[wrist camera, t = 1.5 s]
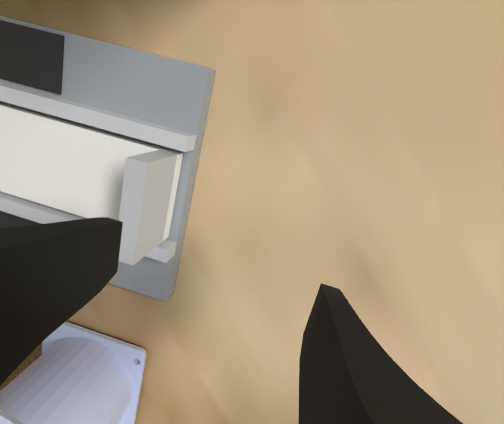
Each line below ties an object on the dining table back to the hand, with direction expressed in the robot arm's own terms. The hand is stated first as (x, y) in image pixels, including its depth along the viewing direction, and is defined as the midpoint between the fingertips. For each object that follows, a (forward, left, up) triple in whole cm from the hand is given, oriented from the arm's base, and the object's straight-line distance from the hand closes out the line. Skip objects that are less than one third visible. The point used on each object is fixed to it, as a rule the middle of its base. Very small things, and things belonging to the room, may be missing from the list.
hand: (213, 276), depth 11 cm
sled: (0, +15, -7) cm, 17 cm away
